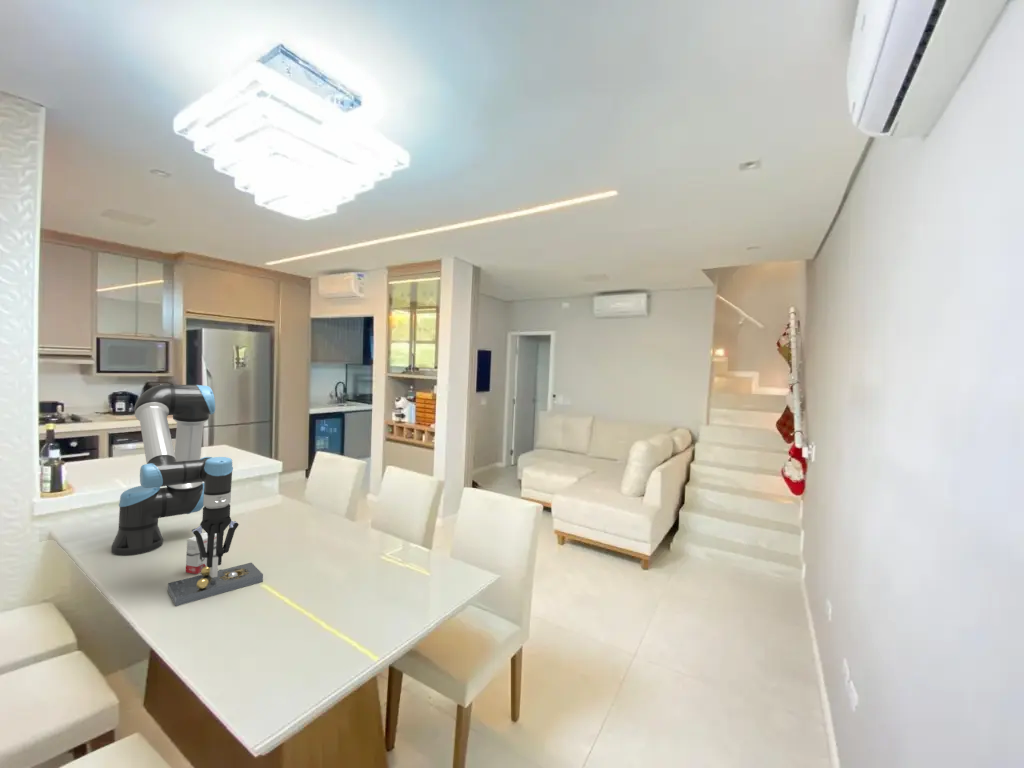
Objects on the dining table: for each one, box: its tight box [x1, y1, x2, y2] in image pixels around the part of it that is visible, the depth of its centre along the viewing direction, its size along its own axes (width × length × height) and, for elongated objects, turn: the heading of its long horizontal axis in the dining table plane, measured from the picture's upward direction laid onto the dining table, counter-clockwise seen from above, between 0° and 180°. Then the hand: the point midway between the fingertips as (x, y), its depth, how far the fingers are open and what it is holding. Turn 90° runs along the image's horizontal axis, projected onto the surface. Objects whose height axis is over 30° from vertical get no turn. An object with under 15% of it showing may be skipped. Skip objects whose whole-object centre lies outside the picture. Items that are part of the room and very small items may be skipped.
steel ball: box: [227, 572, 238, 577], centre depth 148 cm, size 3×3×3 cm
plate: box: [167, 561, 264, 607], centre depth 145 cm, size 24×12×2 cm, turn 137°
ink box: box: [185, 531, 217, 575], centre depth 155 cm, size 9×5×12 cm, turn 168°
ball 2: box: [196, 578, 209, 589], centre depth 138 cm, size 3×3×3 cm
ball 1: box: [200, 566, 210, 576], centre depth 146 cm, size 3×3×3 cm
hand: (213, 575), depth 144 cm, fingers closed
